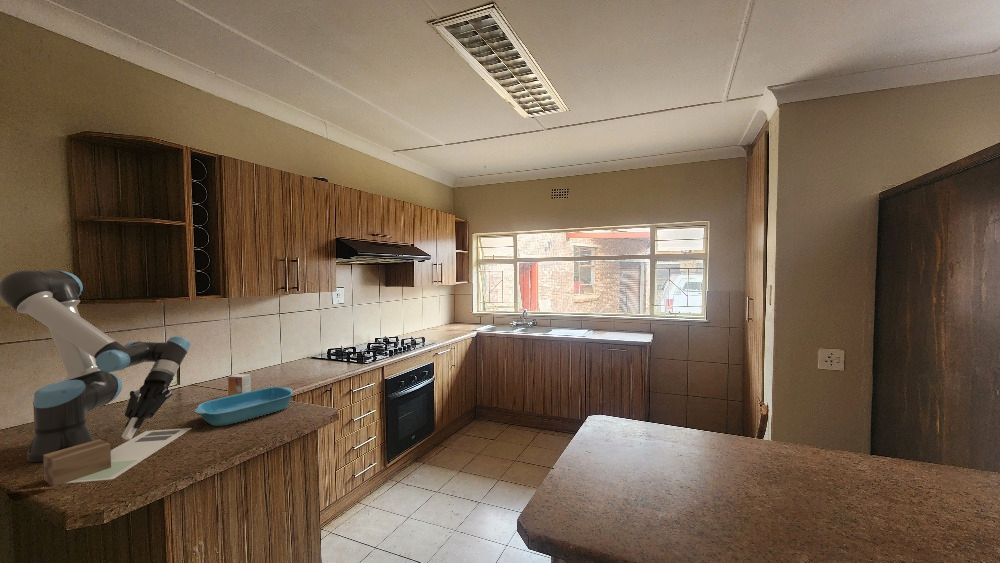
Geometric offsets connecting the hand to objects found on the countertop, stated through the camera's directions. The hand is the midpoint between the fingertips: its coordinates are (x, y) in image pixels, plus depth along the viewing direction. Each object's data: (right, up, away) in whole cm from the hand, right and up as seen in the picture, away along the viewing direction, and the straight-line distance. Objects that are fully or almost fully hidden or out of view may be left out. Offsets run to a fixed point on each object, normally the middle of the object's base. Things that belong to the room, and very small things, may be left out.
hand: (126, 438), depth 128 cm
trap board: (-1, -6, +3) cm, 7 cm away
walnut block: (-3, -6, -11) cm, 13 cm away
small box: (-6, -5, +64) cm, 64 cm away
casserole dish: (+14, -6, +40) cm, 43 cm away
